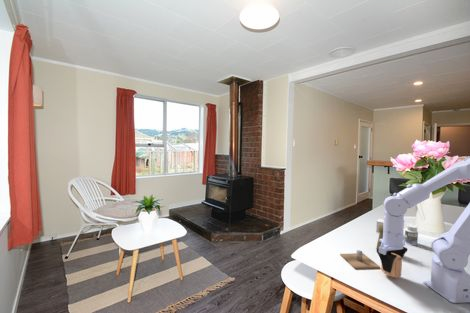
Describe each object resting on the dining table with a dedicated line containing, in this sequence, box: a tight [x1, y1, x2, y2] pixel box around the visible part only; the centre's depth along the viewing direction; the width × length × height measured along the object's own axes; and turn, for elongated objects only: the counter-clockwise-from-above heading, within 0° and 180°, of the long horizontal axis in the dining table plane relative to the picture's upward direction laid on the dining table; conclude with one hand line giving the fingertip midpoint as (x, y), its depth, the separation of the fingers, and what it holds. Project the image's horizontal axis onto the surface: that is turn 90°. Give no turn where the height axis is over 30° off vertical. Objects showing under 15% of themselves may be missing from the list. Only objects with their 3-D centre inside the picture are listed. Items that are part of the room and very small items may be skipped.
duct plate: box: [339, 249, 381, 270], centre depth 86 cm, size 10×10×4 cm
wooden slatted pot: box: [380, 253, 403, 278], centre depth 76 cm, size 6×6×6 cm
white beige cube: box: [375, 218, 384, 234], centre depth 115 cm, size 6×6×6 cm
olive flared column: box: [375, 225, 383, 250], centre depth 95 cm, size 6×6×11 cm
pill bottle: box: [404, 223, 419, 246], centre depth 102 cm, size 5×5×8 cm
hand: (391, 268), depth 76 cm, fingers closed on wooden slatted pot, 6 cm apart
